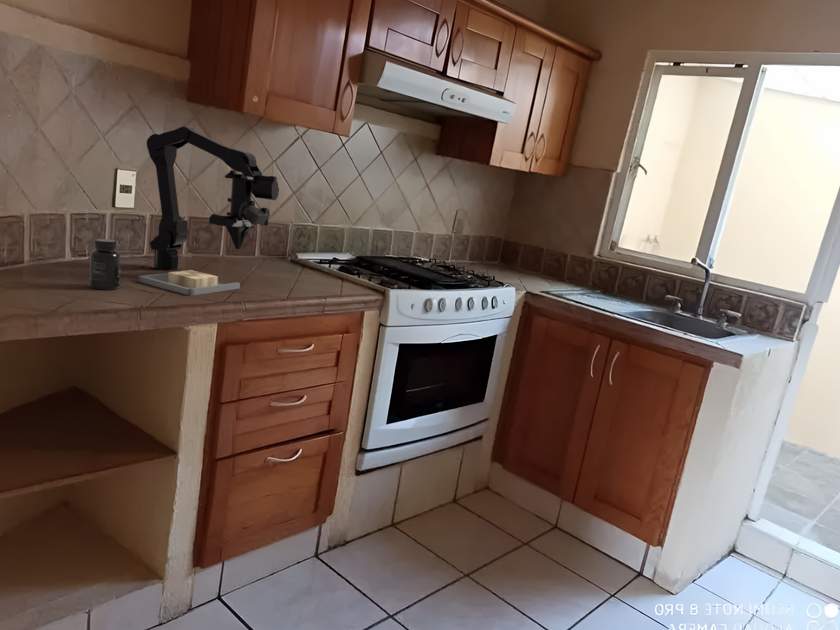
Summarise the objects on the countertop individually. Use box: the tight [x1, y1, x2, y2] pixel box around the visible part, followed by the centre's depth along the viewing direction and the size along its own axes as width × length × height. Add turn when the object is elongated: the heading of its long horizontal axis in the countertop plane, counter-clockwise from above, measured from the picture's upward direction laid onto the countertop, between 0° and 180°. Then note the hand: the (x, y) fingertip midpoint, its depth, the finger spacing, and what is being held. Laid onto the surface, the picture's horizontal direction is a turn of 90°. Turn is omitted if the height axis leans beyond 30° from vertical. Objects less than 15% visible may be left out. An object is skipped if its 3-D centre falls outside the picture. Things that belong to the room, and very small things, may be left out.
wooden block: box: [167, 269, 219, 289], centre depth 170 cm, size 10×3×8 cm
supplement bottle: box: [89, 238, 121, 291], centre depth 156 cm, size 7×7×12 cm
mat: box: [137, 272, 241, 297], centre depth 170 cm, size 19×18×2 cm
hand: (238, 249), depth 184 cm, fingers closed
